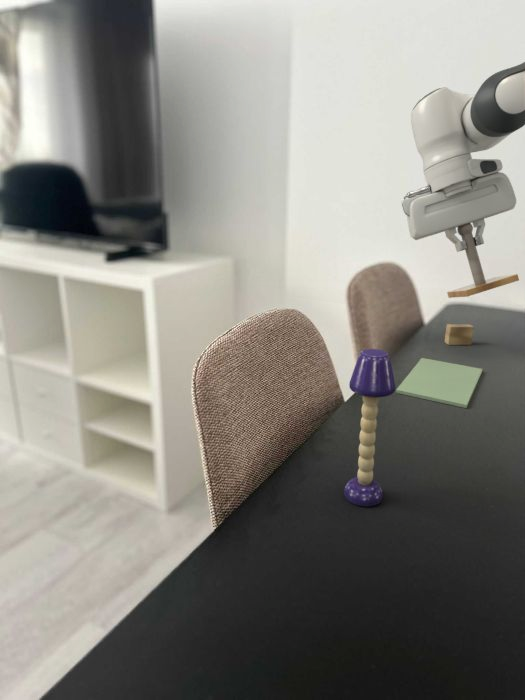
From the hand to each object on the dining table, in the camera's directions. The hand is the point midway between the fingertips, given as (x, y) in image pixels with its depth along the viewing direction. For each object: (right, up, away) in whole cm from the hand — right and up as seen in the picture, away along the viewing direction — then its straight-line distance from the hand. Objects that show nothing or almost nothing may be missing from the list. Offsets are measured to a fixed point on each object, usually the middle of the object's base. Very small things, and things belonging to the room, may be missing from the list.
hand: (470, 247), depth 99 cm
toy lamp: (-29, -36, -42) cm, 63 cm away
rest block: (+1, -18, +10) cm, 21 cm away
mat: (-9, -25, -11) cm, 29 cm away
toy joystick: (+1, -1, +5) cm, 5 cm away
